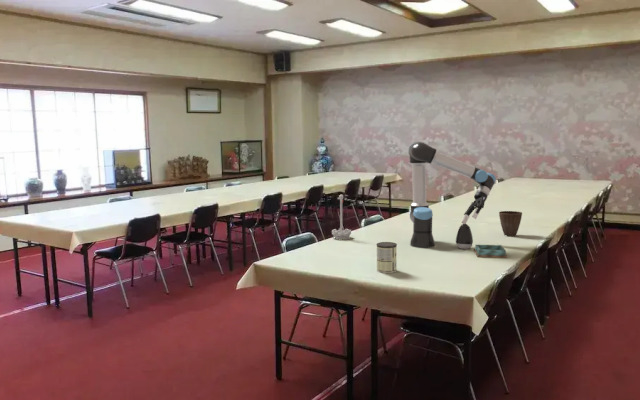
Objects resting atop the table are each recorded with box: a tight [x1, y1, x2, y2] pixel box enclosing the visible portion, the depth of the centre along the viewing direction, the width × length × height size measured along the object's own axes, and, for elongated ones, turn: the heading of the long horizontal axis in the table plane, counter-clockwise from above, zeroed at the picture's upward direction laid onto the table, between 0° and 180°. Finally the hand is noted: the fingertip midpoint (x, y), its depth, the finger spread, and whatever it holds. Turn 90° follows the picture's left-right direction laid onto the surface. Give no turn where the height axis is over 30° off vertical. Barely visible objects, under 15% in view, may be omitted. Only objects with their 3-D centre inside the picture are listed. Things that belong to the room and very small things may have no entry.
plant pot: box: [498, 210, 523, 237], centre depth 365 cm, size 15×15×16 cm
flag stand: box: [331, 194, 352, 240], centre depth 362 cm, size 13×13×30 cm
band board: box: [473, 244, 508, 259], centre depth 310 cm, size 16×16×4 cm
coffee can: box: [376, 241, 398, 274], centre depth 275 cm, size 10×10×14 cm
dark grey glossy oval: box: [455, 223, 474, 250], centre depth 326 cm, size 10×10×15 cm
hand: (468, 220), depth 332 cm, fingers open, 13 cm apart
